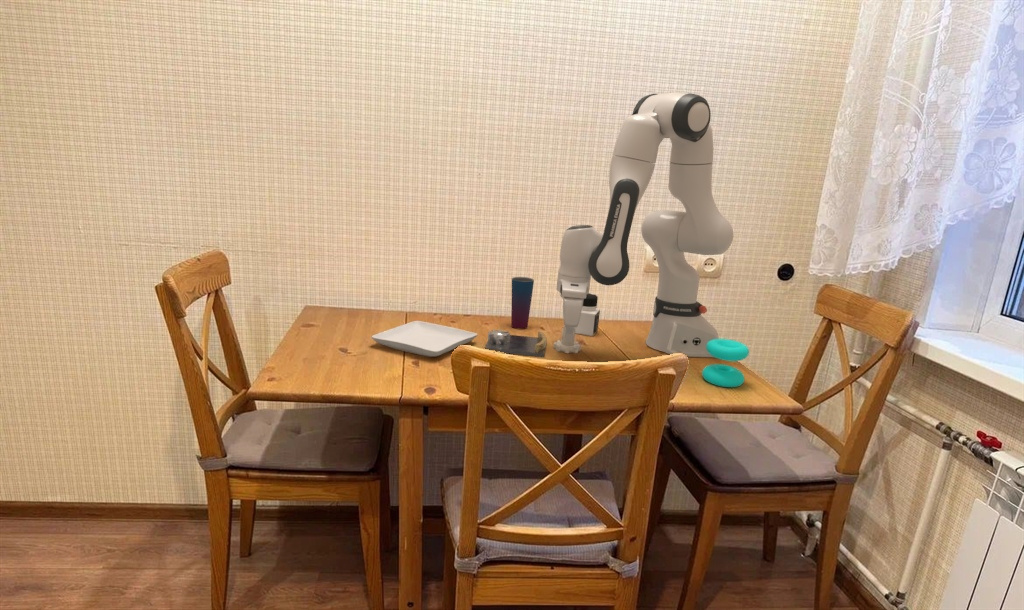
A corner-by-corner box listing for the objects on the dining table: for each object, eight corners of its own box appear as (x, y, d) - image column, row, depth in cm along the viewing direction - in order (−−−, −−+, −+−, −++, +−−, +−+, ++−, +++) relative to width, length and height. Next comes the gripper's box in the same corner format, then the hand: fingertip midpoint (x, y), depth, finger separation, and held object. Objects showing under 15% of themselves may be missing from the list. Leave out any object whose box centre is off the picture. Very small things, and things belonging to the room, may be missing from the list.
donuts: (739, 338, 153) (757, 350, 144) (733, 375, 156) (750, 390, 146) (701, 336, 153) (716, 348, 143) (695, 373, 155) (710, 388, 146)
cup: (531, 324, 189) (534, 277, 185) (529, 330, 183) (533, 282, 179) (509, 322, 190) (512, 276, 186) (507, 328, 183) (510, 280, 179)
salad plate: (415, 329, 177) (416, 318, 176) (478, 344, 168) (479, 332, 167) (368, 348, 158) (368, 335, 157) (436, 364, 149) (437, 351, 148)
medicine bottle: (593, 336, 181) (597, 297, 178) (570, 332, 183) (573, 294, 180) (597, 330, 188) (601, 293, 185) (575, 327, 190) (579, 290, 187)
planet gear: (580, 346, 171) (582, 326, 169) (580, 354, 164) (582, 333, 162) (554, 343, 171) (555, 323, 170) (553, 351, 164) (555, 330, 163)
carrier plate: (546, 341, 173) (547, 330, 172) (543, 357, 159) (545, 344, 158) (491, 336, 174) (492, 324, 173) (484, 351, 161) (484, 338, 160)
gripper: (561, 277, 172) (556, 323, 175) (562, 291, 152) (556, 343, 155) (583, 279, 172) (577, 325, 175) (587, 293, 152) (581, 346, 155)
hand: (567, 334), depth 165 cm, fingers open, 8 cm apart
